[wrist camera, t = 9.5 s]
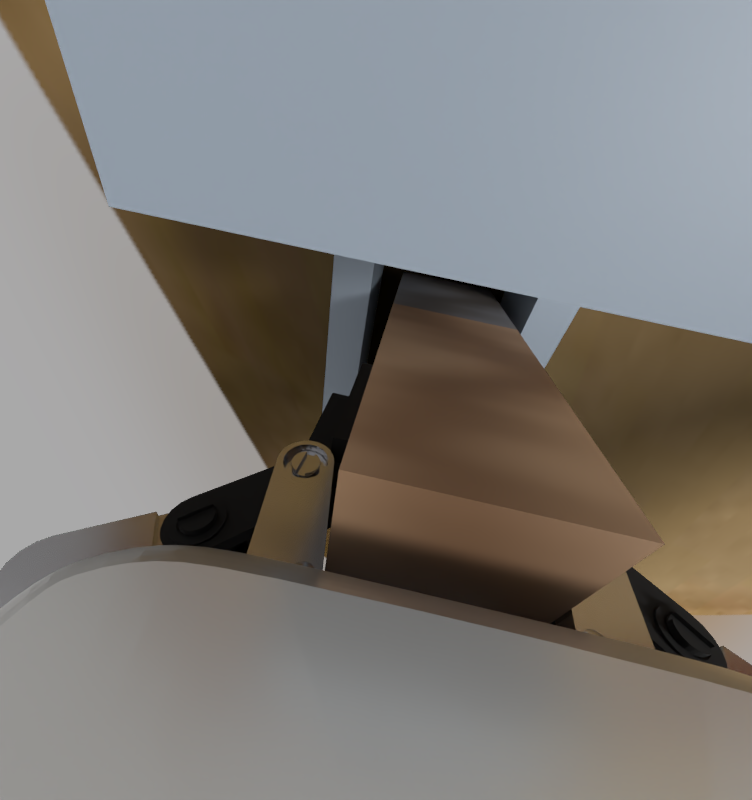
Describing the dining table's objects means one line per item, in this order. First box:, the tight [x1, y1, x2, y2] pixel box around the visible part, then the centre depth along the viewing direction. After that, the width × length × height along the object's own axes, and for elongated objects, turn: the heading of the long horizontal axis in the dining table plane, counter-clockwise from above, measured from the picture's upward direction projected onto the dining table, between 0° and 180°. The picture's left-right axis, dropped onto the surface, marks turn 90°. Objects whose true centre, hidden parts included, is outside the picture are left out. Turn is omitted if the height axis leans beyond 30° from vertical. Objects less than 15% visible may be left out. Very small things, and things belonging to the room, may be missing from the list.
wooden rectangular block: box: [325, 272, 665, 624], centre depth 10 cm, size 4×7×12 cm, turn 170°
